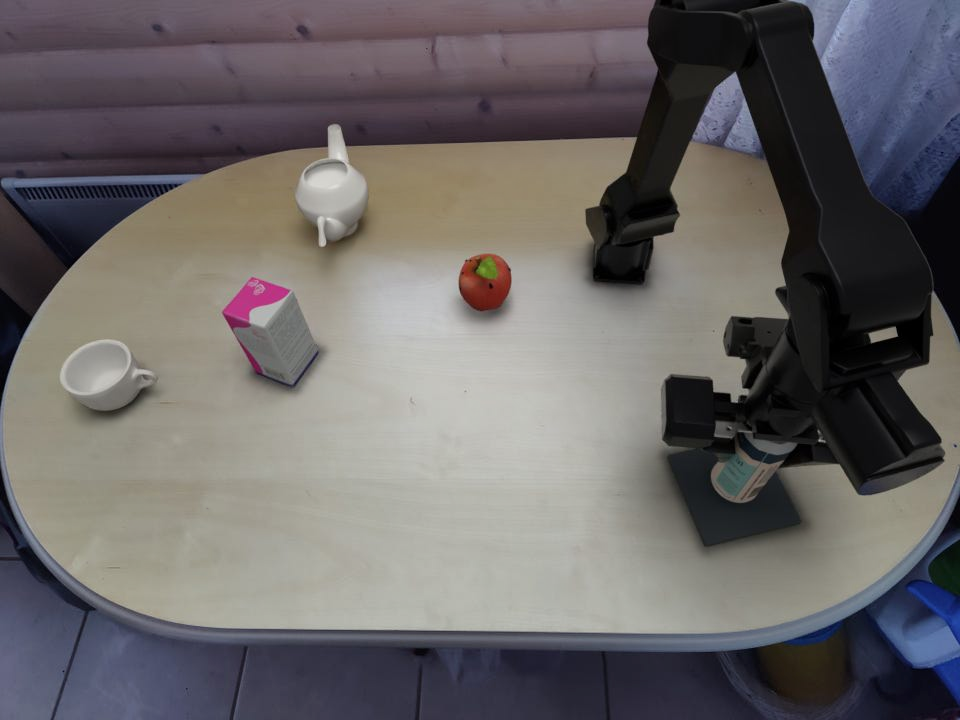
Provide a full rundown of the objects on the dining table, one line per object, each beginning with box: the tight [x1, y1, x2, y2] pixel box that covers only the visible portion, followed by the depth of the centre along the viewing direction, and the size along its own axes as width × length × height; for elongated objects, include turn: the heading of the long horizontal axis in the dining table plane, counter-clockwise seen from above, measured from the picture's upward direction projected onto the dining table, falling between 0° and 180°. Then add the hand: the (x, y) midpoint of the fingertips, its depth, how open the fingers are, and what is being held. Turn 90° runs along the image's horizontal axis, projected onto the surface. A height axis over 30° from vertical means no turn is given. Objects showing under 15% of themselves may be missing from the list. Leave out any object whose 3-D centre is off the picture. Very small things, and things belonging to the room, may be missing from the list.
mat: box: [667, 448, 803, 547], centre depth 70 cm, size 10×10×1 cm
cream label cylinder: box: [711, 432, 798, 503], centre depth 63 cm, size 5×5×12 cm
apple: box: [458, 253, 513, 312], centre depth 81 cm, size 8×7×10 cm
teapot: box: [294, 123, 370, 248], centre depth 91 cm, size 10×20×9 cm, turn 0°
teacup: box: [59, 339, 159, 412], centre depth 78 cm, size 10×8×5 cm
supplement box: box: [221, 276, 319, 388], centre depth 77 cm, size 6×6×12 cm
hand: (748, 460), depth 65 cm, fingers closed on cream label cylinder, 5 cm apart
